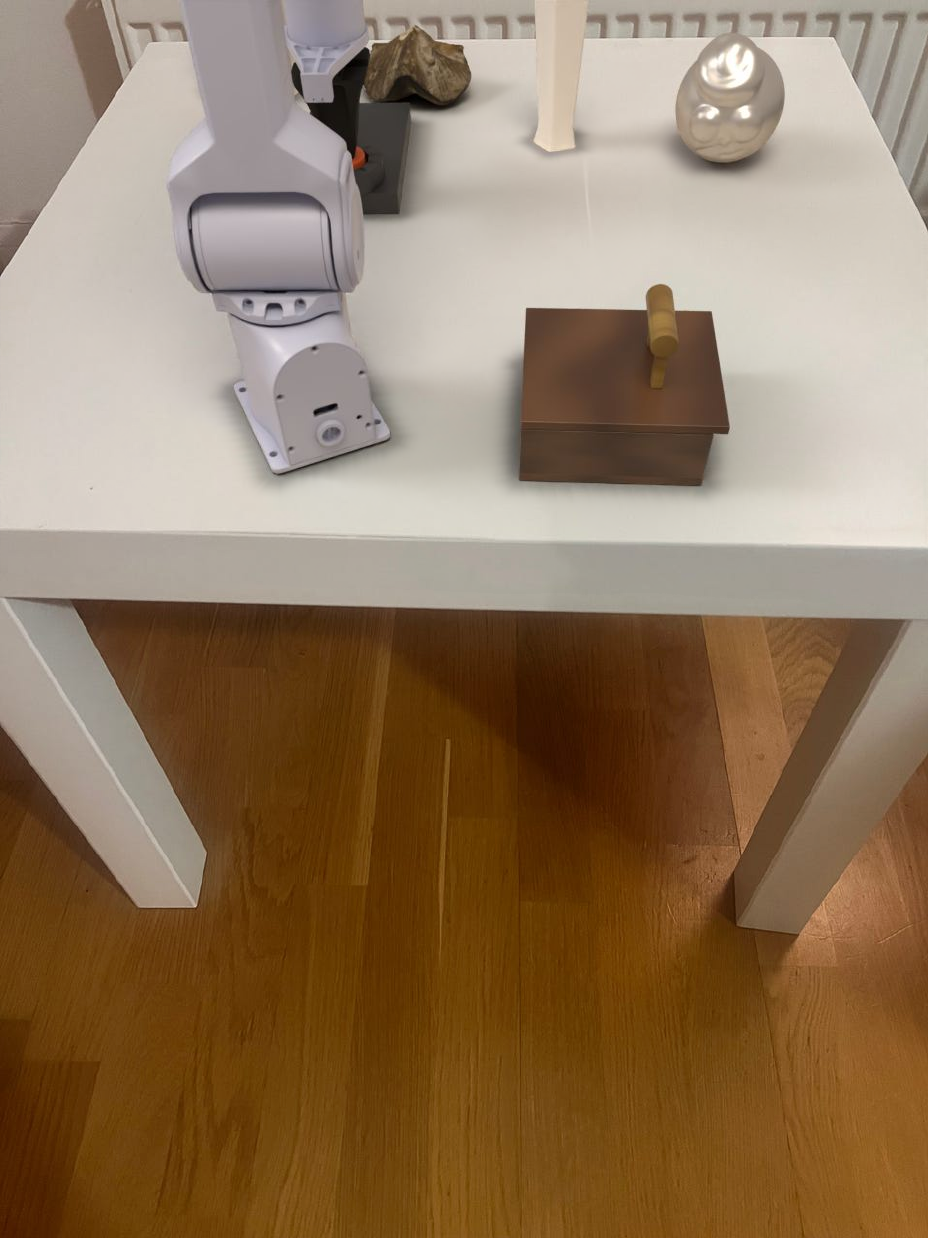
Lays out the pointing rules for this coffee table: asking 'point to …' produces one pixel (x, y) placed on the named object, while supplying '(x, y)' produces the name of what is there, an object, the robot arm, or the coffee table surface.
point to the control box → (382, 155)
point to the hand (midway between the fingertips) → (342, 155)
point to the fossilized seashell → (417, 69)
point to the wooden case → (613, 456)
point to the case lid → (623, 369)
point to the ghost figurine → (729, 100)
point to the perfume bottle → (558, 69)
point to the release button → (358, 158)
